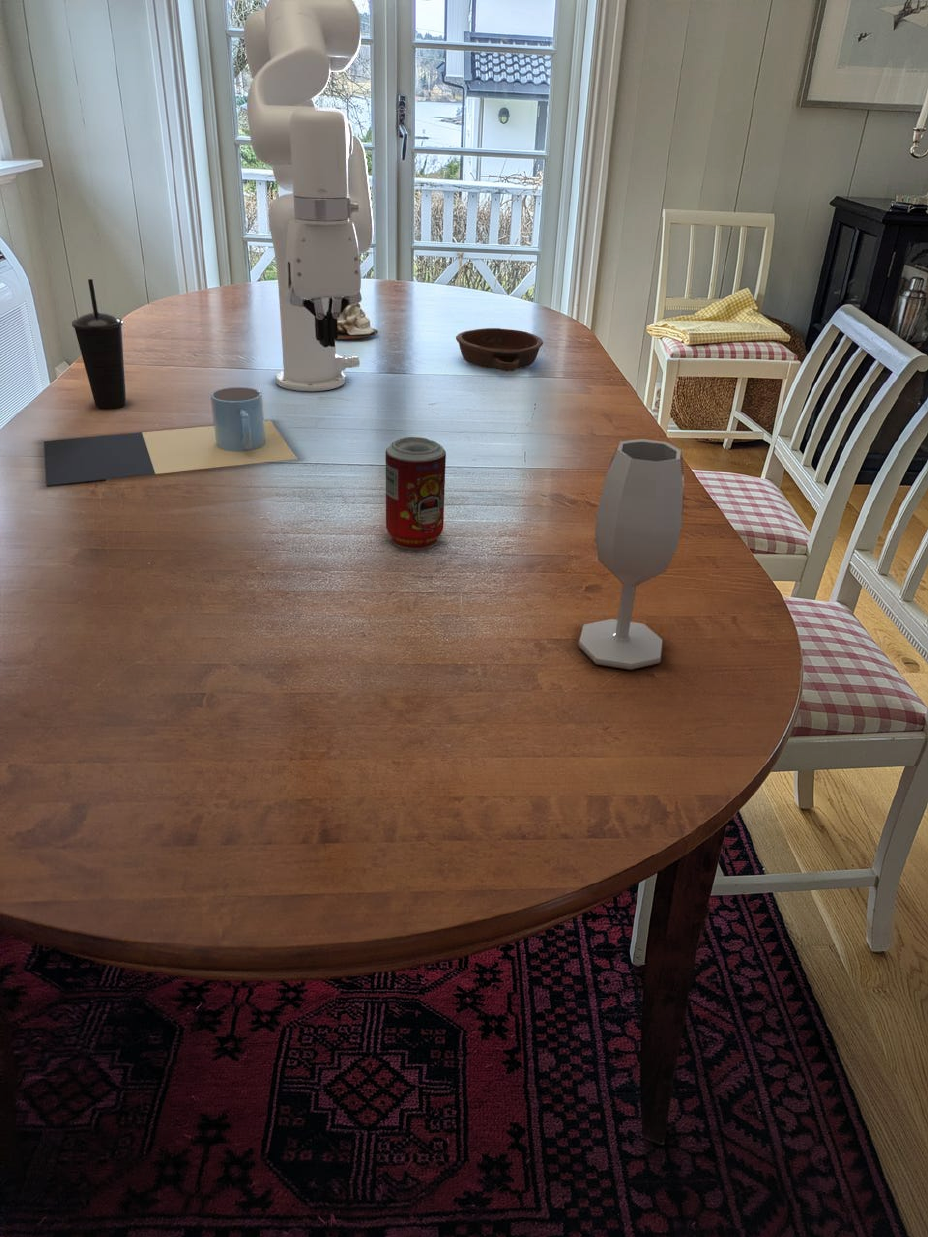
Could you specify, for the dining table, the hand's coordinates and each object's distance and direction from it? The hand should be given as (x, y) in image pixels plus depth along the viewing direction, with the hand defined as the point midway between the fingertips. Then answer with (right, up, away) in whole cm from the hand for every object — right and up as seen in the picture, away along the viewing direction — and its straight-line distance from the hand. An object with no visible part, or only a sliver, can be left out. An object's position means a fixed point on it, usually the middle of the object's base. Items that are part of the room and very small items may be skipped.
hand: (327, 344), depth 135 cm
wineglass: (+36, -44, -43) cm, 72 cm away
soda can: (+14, -31, -24) cm, 42 cm away
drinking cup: (-39, -5, +16) cm, 42 cm away
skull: (-5, +21, +63) cm, 67 cm away
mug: (-13, -15, +1) cm, 20 cm away
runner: (-23, -16, -1) cm, 28 cm away
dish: (+27, +11, +48) cm, 56 cm away
